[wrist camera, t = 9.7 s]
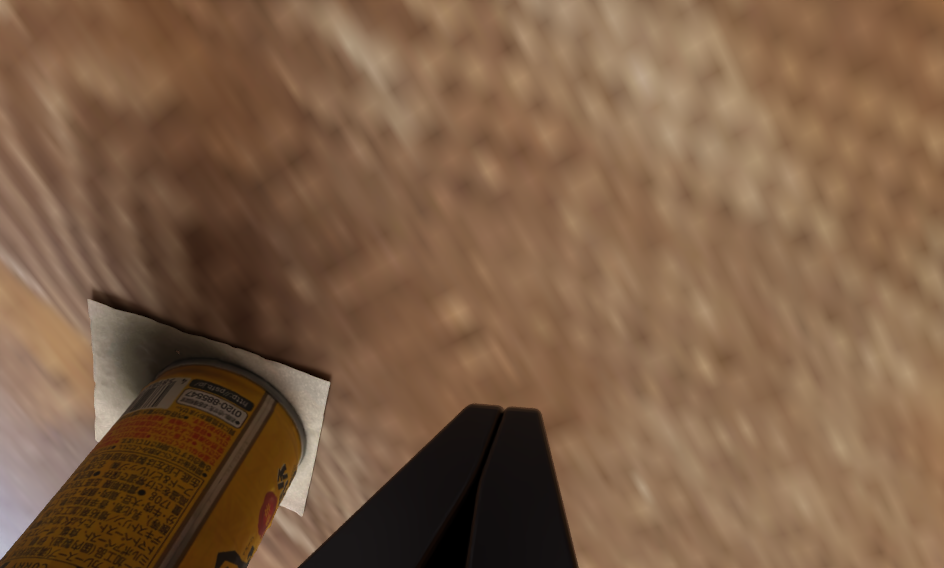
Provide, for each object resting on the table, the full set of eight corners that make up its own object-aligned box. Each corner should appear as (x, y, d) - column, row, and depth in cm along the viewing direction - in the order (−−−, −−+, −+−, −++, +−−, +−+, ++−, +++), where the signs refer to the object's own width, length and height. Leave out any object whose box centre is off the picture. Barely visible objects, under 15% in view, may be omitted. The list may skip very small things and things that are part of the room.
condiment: (304, 511, 31) (128, 867, 21) (98, 437, 31) (-169, 754, 22) (333, 377, 27) (128, 745, 17) (93, 292, 27) (-243, 606, 17)
